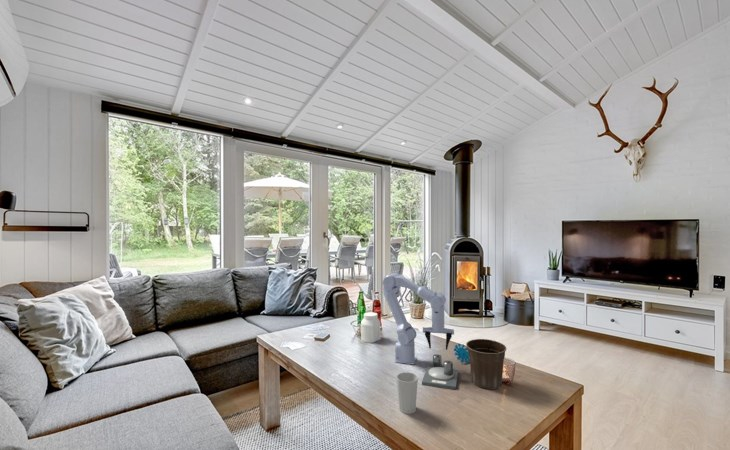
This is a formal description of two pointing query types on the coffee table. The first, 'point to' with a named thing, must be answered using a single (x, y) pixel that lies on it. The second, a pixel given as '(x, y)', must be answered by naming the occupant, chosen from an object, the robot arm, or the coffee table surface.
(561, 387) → the coffee table surface
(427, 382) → the scale
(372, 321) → the jar
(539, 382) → the coffee table surface
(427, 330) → the robot arm
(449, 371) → the cylinder
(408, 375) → the cup
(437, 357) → the spacer
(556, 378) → the coffee table surface
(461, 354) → the gear
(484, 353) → the plant pot
